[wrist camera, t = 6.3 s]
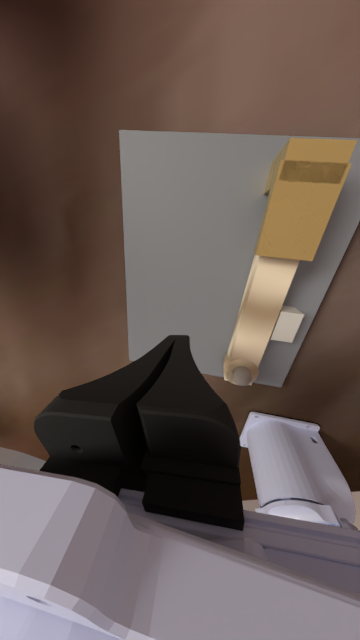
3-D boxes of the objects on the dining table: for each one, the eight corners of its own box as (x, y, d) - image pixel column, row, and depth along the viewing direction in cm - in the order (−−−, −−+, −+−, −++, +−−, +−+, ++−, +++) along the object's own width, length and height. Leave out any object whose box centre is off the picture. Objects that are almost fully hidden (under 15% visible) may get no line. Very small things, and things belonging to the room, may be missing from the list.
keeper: (324, 165, 12) (361, 140, 10) (292, 257, 15) (312, 261, 12) (268, 162, 13) (286, 137, 10) (246, 253, 16) (255, 255, 13)
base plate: (384, 147, 12) (397, 139, 11) (278, 381, 22) (280, 387, 21) (124, 136, 14) (119, 129, 13) (132, 355, 24) (129, 360, 23)
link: (249, 375, 21) (255, 394, 18) (220, 369, 21) (221, 388, 19) (307, 219, 14) (330, 213, 11) (261, 215, 14) (274, 208, 11)
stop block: (294, 307, 17) (304, 314, 15) (283, 333, 18) (291, 342, 16) (273, 304, 17) (281, 311, 15) (264, 330, 18) (270, 339, 17)
